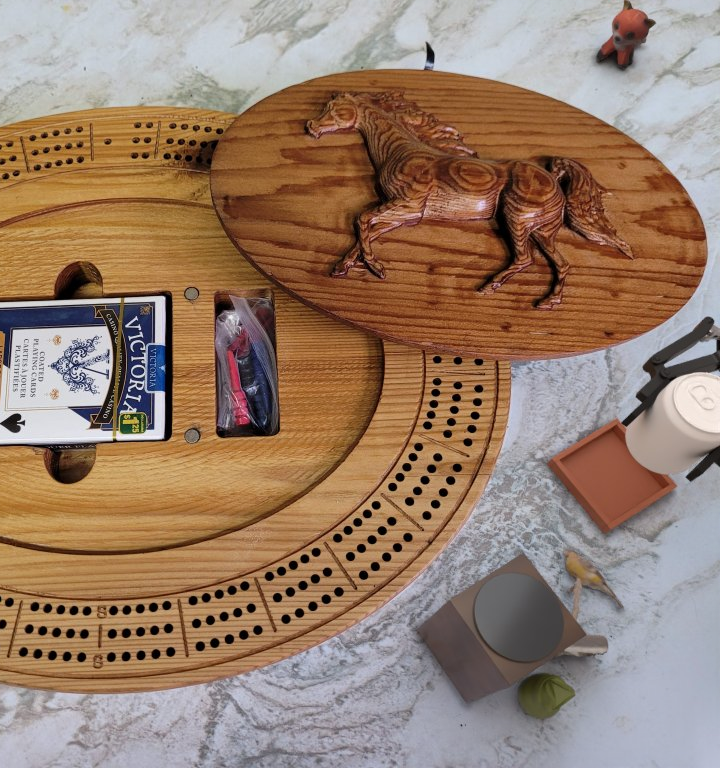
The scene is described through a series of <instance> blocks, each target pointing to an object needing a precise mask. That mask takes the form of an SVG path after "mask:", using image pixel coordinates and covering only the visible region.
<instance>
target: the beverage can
mask: <svg viewBox="0 0 720 768" xmlns="http://www.w3.org/2000/svg"><path fill="white" fill-rule="evenodd" d="M625 438H626V444H627V447H628V449H629V451H630V453H631V455H632V456H633V457H634V459H635V460H636V461H637V462H638V463H640V464H641V465H642V466H643V467H645V468H647V469H649V470H651V471H653V472H656V473H659V474H667V475H668V476H669V475H677V474H680V473H684V472H685V471H687V470H688V469H690V468H691V467H692V466H694V465H695V464H696V463H698V462H700V461H701V460H703V459H704V458H705V457H706V456H707V455H708V454H709V453H710V452H711V451H713V450H714V449H715V448H717V447H718V446H720V376H719V375H717V374H713V373H703V372H699V373H692V374H687V375H683V376H680V377H678V378H676V379H674V380H673V381H672V382H670V383H669V384H668V385H667V386H666V387H665V388H664V389H663V390H662V391H661V392H660V393H659V395H658V396H657V398H656V400H655V401H654V402H653V403H652V404H651V405H650V406H649V407H647V408H646V409H645V410H644V411H643V412H642V413H641V414H640V415H639V416H638V417H637V418H636V419H635V420H634V421H633V422H632V423H630V424H629V425H628V426H627V427H626V434H625Z"/></svg>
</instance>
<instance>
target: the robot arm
mask: <svg viewBox="0 0 720 768" xmlns="http://www.w3.org/2000/svg"><path fill="white" fill-rule="evenodd" d="M711 340H714V341H715V343H716V344H715V349H716V350H715V352H712V353H710V354H705V355H704V356H700V357H696V358H693V359H690V360H687V361H683V362H680V363H676V364H673V365H670V366H667V367H666V366H665V365H666V364H667V363H669V362H670V361H672V360H674V359H676V358H677V357H679V356H681V355H682V354H684V353H686V352H687V351H689V350H690V349H692V348H693V347H695V346H696V345H697V344H698V343H699V342H700V343H705V342H706V343H708V342H709V341H711ZM642 370H643V372H645V373H646V374H647V373H648V374H649V377H650V379H649V381H648V382H647V383H645V384H644V386H642V387H641V388H640V389H639V390H638V391H637V392H636V394H635V398H636V399H637V400H638V401H639V402H640V404H639V405H637V407H636V408H634V409H633V411H631V412H630V414H628V415H627V416H626V417H625V418H624V419H623V420H622V421H620V422H621V423H622V424H623V425H624V426H625V428H627V426H628V425H629V424H630V423H632V422H633V421H634V420H635V419H636V418H637V417H638V416H639V415H640V414H641V413H642V412H643V411H644V410H645V409H646V408H647V407H649V406H650V405H651V404H652V403H653V402H654V401H655V400H656V398H657V396H658V395H659V393H660V392H661V391H662V390H663V389H664V388H665V387H666V386H667V385H668V384H669V383H670V382H672V381H673V380H674V379H676V378H678V377H680V376H683V375H687V374H692V373H699V372H703V373H710V374H712V373H714V372H717V371H718V372H719V373H720V327H718V326H717V325H715V319H714V318H713V317H712V316H704V318H703V319H702V320H700V322H698V324H696V326H695V327H694V328H693V329H692V331H690V332H689V333H686V334H685V335H683V336H682V337H680V338H679V339H677V340H675V341H674V342H673V341H672V342H671V343H670V344H668V345H667V346H665V347H663V348H662V349H660V350H659V351H657V352H655V353H654V354H652V355H651V356H650V357H649V359H647V360H646V361H645V363H643V365H642ZM713 464H716V466H718V468H720V446H718V447H717V448H715V449H714V450H713V451H711V452H710V453H709V454H707V455H706V456H704V457H703V458H702V459H701V460H700V461H699V463H697V465H695V467H694V468H692V469H691V471H689V472H688V474H687V475H686V476H685V478H686V480H688V481H689V482H690V483H691V482H693V481H695V480H696V479H698V478H699V477H701V476H702V475H703V474H705V473H706V471H707V470H708V469H710V468H711V466H713Z"/></svg>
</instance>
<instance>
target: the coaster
mask: <svg viewBox="0 0 720 768" xmlns="http://www.w3.org/2000/svg"><path fill="white" fill-rule="evenodd" d="M473 616H474V622H475V625H476V628H477V630H478V633H479V635H480V636H481V638H482V639H483V641H484V642H485V643H486V644H487V646H488V647H490V648H491V649H492V650H493V651H494V652H495V653H497V654H498V655H500V656H502V657H504V658H506V659H509V660H512V661H516V662H533V661H537V660H540V659H542V658H544V657H546V656H548V655H549V654H550V653H552V652H553V651H554V650H555V648H556V647H557V646H558V644H559V642H560V640H561V638H562V634H563V629H564V620H563V614H562V610H561V607H560V605H559V603H558V601H557V599H556V597H555V596H554V595H553V593H552V592H551V591H550V590H549V589H548V588H547V587H546V586H545V585H544V584H543V583H541V582H540V581H538V580H537V579H535V578H533V577H531V576H528V575H525V574H521V573H504V574H500V575H497V576H495V577H493V578H491V579H489V580H488V581H487V582H486V583H485V584H484V585H483V586H482V587H481V588H480V590H479V591H478V593H477V595H476V598H475V601H474V606H473Z"/></svg>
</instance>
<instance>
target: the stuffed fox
mask: <svg viewBox="0 0 720 768" xmlns="http://www.w3.org/2000/svg"><path fill="white" fill-rule="evenodd" d="M656 25H657V22H656V21H655V20H654V19H653V18H649V16H648V15H647V14H646V13H645V12H644V11H643V10H642V9H641V10H640V9H637V8H634V7H633V5H632V3H631V1H630V0H623V5H622V10H621V11H620V12H618V14H616V15H615V16H614V17H613V19H612V22H611V31H612V34H611V36H610V37H609V38H608V39H607V41H605V42H604V43H603V44H602V45H601V48H600V49H599V50H598V51H597V53H596V56H595V59H596V63H598V64H600V61H602V60H604V59H606V58H608V57H610V56H609V55H610V54H612V53H613V52H614V51H616V52H617V57H616V59H617V67H618V68H622V69H623V70H625V69H627V67H629V66H630V65H632V64H633V63H634V60H633V59H634V53H635V50H636V47H639V46H641V45H643V44H646V43H647V38H648V35H649V32H650V29H651V28H653V27H654V26H656Z"/></svg>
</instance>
